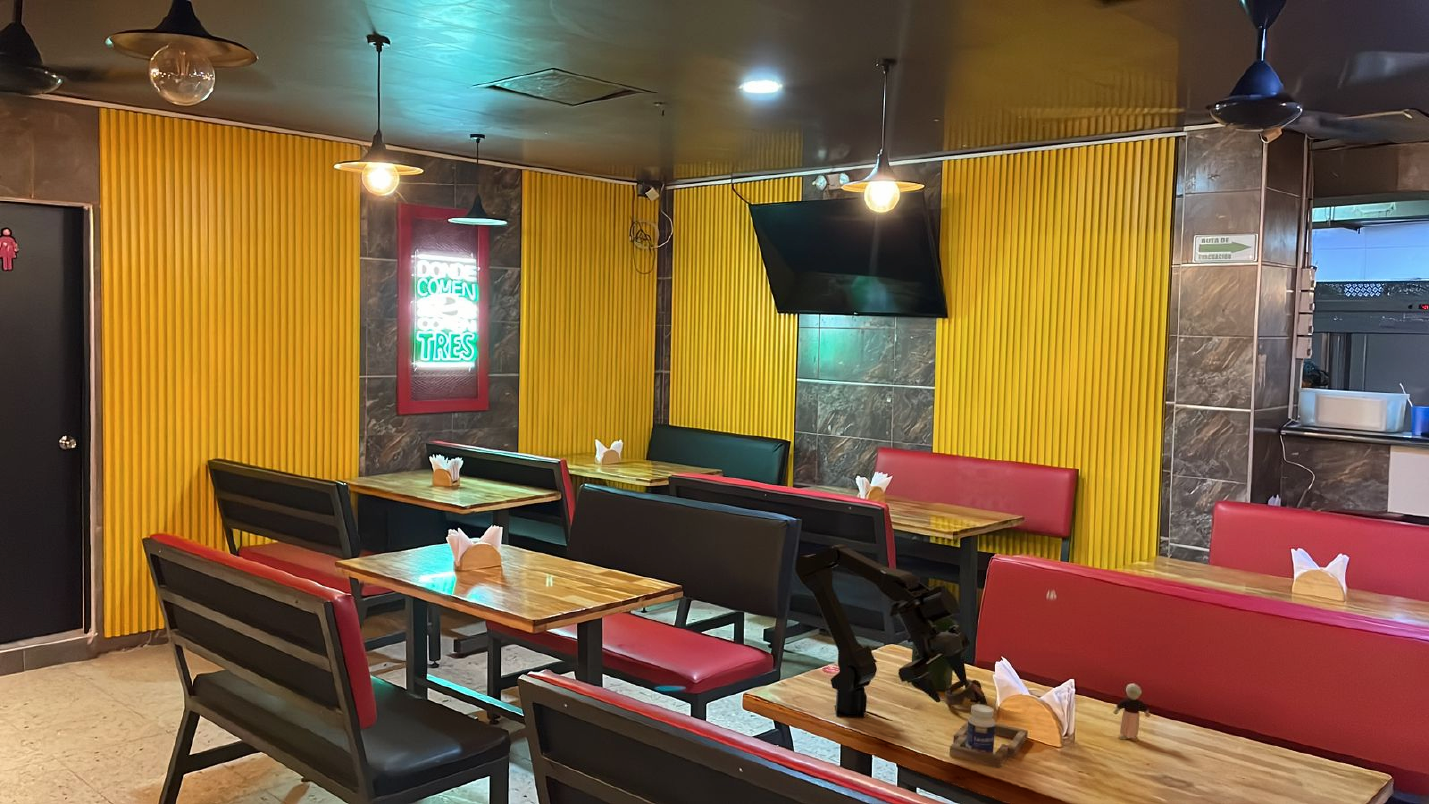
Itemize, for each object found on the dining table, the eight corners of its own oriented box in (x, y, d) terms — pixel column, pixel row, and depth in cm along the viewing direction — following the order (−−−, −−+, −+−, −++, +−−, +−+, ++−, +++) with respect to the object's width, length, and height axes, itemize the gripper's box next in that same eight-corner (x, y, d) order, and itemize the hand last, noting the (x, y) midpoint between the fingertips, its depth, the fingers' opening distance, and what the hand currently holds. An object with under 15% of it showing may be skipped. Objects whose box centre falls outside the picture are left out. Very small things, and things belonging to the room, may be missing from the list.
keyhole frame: (969, 726, 244) (970, 717, 243) (1027, 739, 237) (1027, 730, 237) (943, 754, 226) (944, 745, 226) (1005, 769, 220) (1005, 759, 220)
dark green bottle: (957, 684, 274) (963, 588, 272) (943, 694, 265) (949, 595, 263) (919, 675, 279) (924, 581, 277) (904, 685, 270) (909, 588, 269)
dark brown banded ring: (987, 722, 248) (970, 692, 248) (951, 731, 253) (935, 701, 253) (998, 695, 258) (983, 666, 258) (964, 704, 263) (949, 675, 263)
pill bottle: (973, 759, 224) (976, 713, 223) (960, 748, 229) (963, 703, 229) (998, 757, 225) (1001, 712, 225) (984, 747, 231) (987, 702, 230)
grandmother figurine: (1116, 740, 239) (1120, 685, 238) (1110, 734, 243) (1114, 680, 242) (1150, 742, 239) (1154, 687, 238) (1144, 736, 242) (1148, 681, 242)
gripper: (915, 638, 224) (949, 706, 222) (969, 603, 235) (1003, 668, 233) (883, 647, 233) (916, 713, 231) (937, 613, 244) (969, 676, 242)
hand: (952, 692), depth 234 cm, fingers open, 9 cm apart
